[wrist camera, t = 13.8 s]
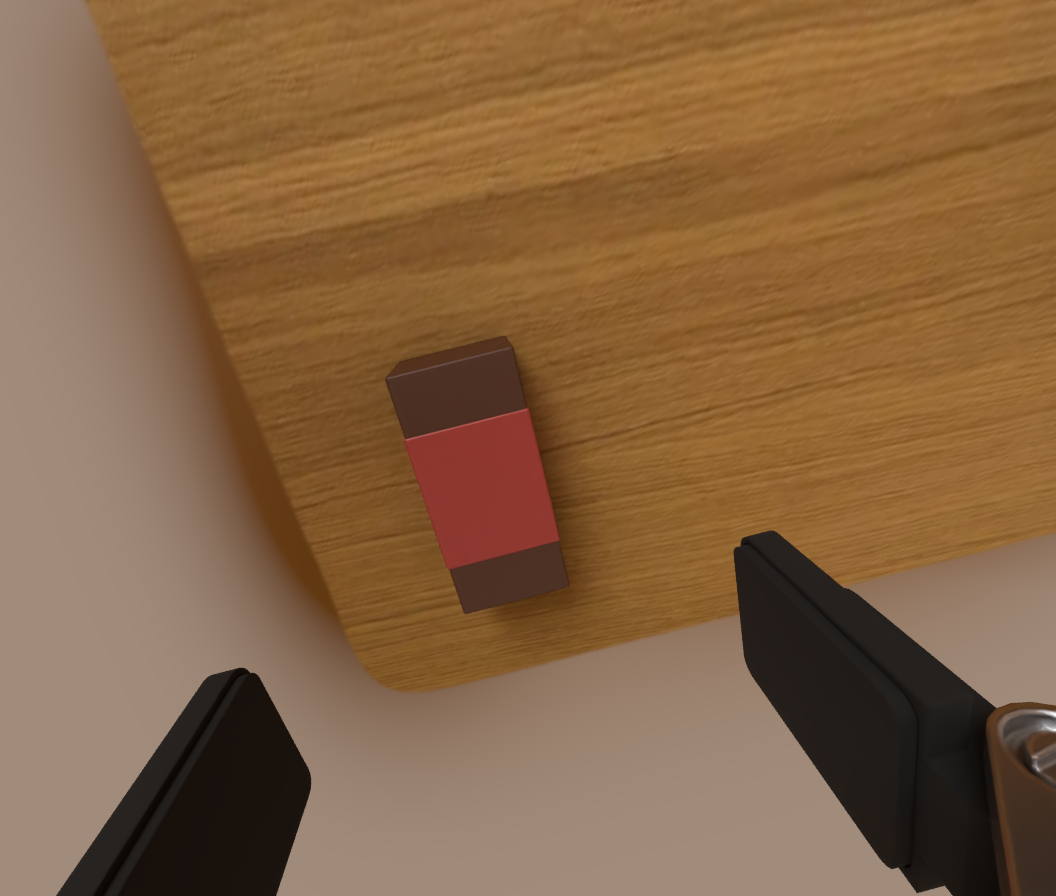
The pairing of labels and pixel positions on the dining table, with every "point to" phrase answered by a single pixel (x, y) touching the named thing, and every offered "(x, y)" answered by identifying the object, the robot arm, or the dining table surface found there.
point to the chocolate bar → (480, 472)
